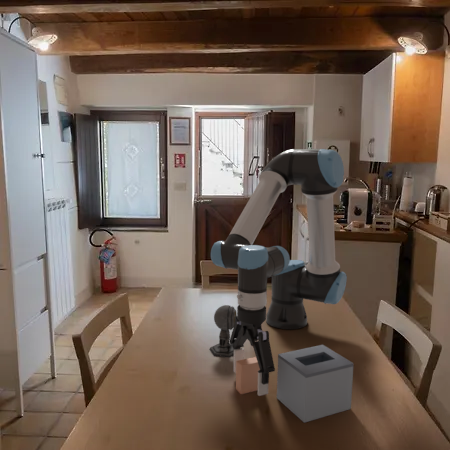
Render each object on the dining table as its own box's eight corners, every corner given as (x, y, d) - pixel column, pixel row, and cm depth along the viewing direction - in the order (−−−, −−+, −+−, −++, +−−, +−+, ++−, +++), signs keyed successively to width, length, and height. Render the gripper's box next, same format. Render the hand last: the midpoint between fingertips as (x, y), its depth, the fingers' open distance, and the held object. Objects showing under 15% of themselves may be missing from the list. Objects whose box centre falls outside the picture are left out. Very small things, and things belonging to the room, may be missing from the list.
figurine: (237, 358, 140) (238, 311, 138) (206, 355, 142) (206, 309, 140) (242, 346, 149) (242, 302, 146) (212, 344, 151) (212, 300, 148)
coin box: (320, 386, 124) (322, 344, 122) (350, 408, 113) (353, 363, 111) (276, 397, 118) (278, 354, 116) (304, 422, 107) (306, 374, 105)
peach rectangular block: (258, 383, 125) (259, 356, 124) (264, 388, 123) (264, 360, 121) (235, 389, 122) (236, 360, 121) (241, 394, 120) (241, 365, 118)
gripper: (218, 293, 128) (217, 365, 131) (263, 323, 106) (261, 408, 109) (242, 290, 131) (240, 360, 135) (290, 319, 109) (287, 401, 113)
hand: (250, 382), depth 122 cm, fingers open, 13 cm apart
